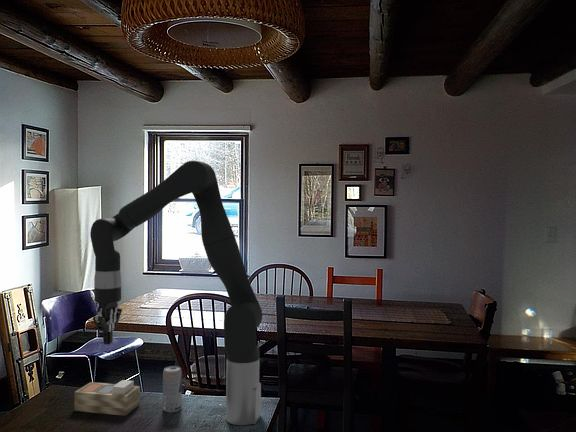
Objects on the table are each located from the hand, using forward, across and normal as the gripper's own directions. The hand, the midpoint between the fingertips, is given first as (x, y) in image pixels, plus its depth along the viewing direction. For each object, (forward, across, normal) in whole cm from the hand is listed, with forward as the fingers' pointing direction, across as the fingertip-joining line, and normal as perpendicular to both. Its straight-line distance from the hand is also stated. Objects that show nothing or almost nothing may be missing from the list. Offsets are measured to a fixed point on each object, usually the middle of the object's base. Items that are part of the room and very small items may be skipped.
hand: (107, 343), depth 149 cm
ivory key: (+14, -1, -6) cm, 15 cm away
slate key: (+16, -1, -1) cm, 16 cm away
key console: (+19, -1, 0) cm, 19 cm away
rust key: (+16, -1, +4) cm, 17 cm away
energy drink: (+19, +2, -20) cm, 27 cm away
